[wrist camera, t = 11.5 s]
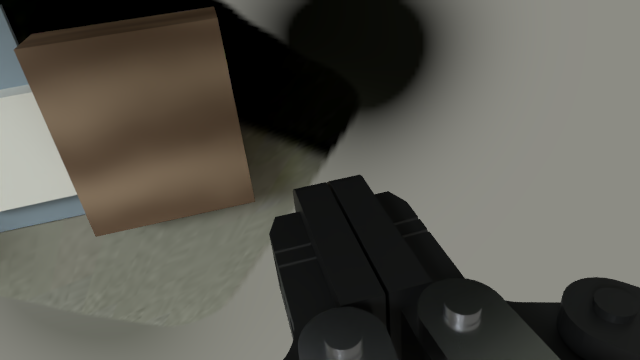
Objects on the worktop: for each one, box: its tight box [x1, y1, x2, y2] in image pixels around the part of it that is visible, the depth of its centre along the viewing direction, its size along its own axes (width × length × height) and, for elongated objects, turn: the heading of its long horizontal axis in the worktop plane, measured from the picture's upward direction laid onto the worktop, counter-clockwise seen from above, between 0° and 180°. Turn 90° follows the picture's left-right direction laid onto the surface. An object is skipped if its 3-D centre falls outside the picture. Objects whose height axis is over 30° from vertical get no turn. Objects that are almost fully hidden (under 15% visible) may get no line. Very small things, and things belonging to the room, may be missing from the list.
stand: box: [14, 7, 255, 236], centre depth 34 cm, size 14×12×4 cm
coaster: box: [0, 84, 77, 212], centre depth 33 cm, size 8×8×2 cm
